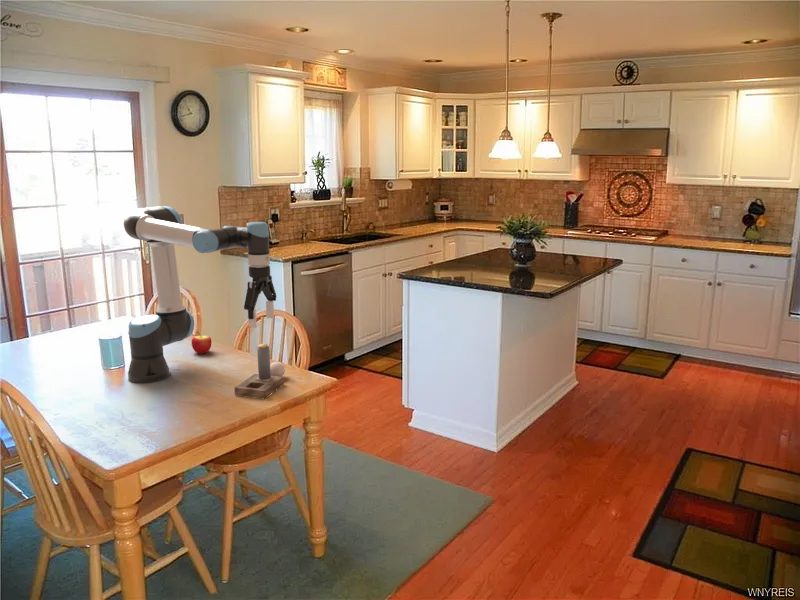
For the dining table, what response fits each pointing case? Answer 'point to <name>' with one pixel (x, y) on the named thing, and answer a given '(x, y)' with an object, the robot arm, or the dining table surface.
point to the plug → (263, 362)
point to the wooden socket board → (258, 386)
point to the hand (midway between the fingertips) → (261, 322)
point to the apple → (201, 344)
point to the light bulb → (277, 369)
